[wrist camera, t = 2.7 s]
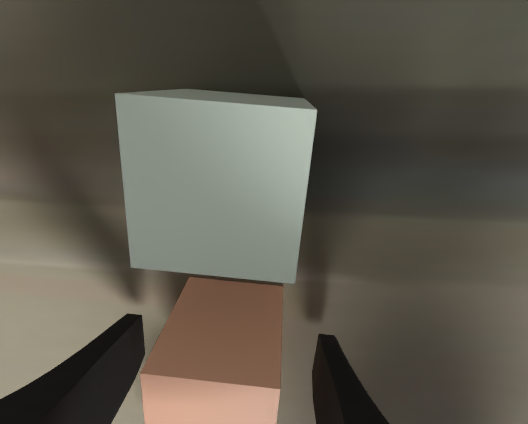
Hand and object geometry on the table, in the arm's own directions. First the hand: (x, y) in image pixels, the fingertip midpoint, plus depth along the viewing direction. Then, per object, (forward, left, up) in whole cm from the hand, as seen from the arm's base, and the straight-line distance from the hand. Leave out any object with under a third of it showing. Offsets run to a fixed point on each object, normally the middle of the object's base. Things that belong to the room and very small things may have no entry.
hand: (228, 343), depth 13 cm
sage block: (+7, 0, -2) cm, 8 cm away
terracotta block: (0, 0, -2) cm, 2 cm away
